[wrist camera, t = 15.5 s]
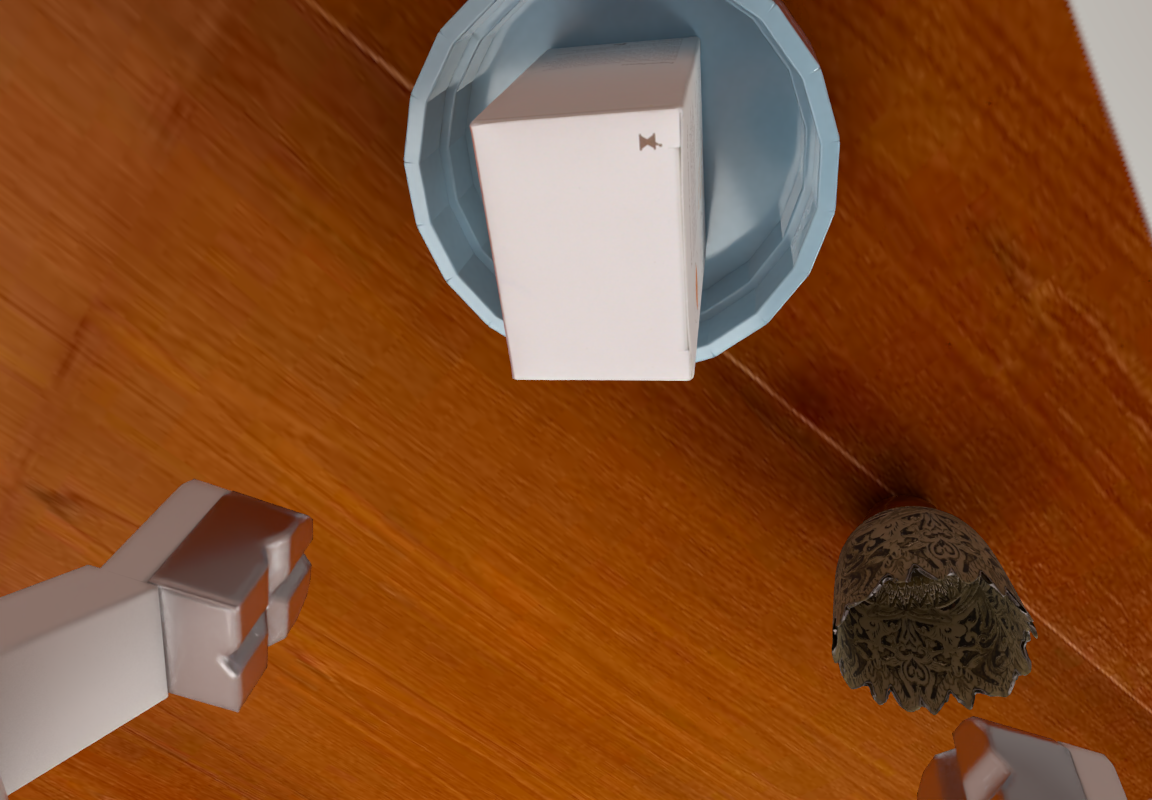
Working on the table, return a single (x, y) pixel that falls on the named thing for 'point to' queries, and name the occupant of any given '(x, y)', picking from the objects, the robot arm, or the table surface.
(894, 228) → the table surface
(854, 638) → the cup
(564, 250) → the small box
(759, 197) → the bowl
